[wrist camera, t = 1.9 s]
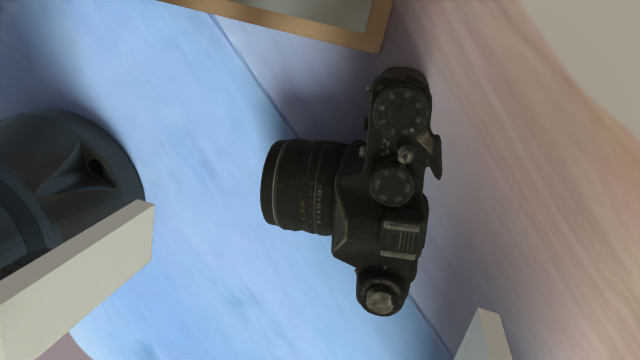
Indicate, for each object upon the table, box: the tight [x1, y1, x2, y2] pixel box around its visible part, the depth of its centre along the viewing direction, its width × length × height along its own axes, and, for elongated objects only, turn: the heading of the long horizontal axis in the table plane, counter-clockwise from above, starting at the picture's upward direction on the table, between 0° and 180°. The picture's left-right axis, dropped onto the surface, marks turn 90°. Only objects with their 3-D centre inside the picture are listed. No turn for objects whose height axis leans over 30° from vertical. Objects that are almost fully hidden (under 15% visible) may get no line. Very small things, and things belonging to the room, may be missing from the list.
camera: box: [260, 67, 442, 316], centre depth 25 cm, size 14×11×10 cm
